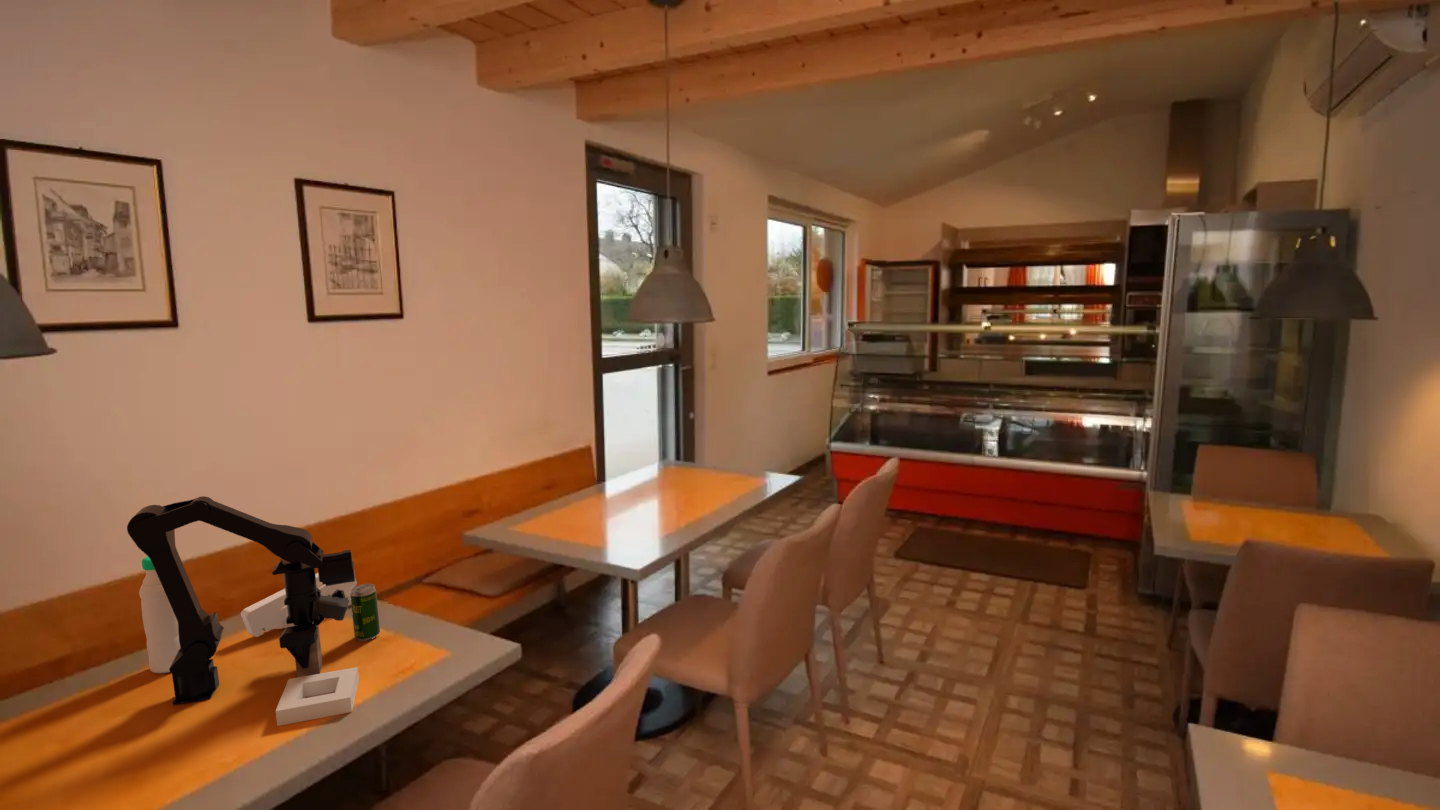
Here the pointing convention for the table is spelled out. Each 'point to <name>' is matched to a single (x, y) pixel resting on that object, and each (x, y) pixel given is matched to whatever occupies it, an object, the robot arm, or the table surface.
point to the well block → (321, 706)
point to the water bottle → (158, 621)
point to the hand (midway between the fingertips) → (308, 659)
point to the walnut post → (312, 659)
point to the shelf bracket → (281, 609)
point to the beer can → (365, 612)
